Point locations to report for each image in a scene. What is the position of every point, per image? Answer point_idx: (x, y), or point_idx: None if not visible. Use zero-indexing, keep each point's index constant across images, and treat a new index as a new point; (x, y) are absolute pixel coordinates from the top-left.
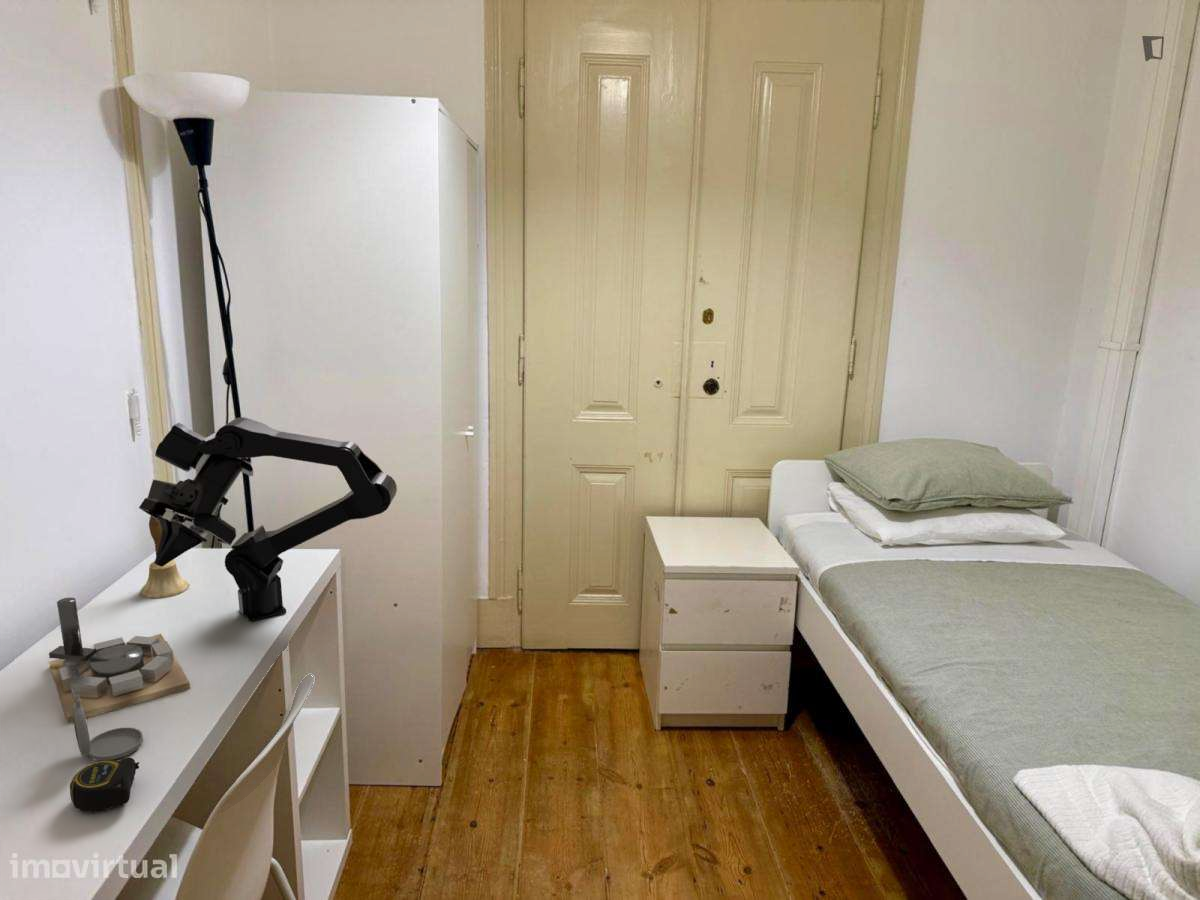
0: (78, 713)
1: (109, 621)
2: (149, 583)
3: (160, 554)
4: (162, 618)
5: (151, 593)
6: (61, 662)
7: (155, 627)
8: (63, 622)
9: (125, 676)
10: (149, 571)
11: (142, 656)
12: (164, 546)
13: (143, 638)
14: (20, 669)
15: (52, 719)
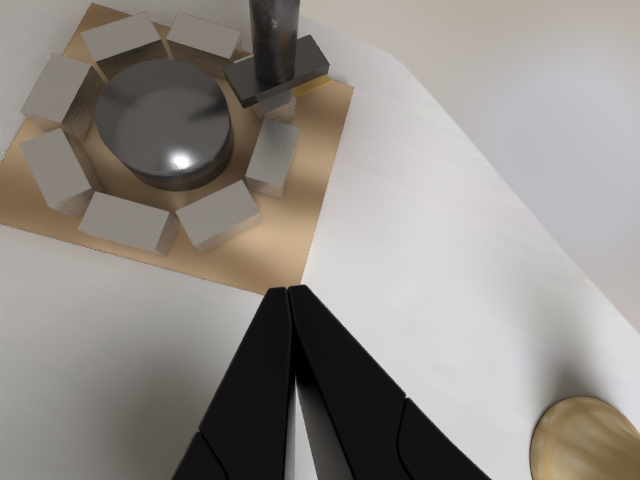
0: None
1: (481, 267)
2: (611, 428)
3: (286, 329)
4: (410, 365)
5: (566, 413)
6: (329, 97)
7: (371, 326)
8: None
9: (59, 88)
10: None
11: (125, 164)
12: (322, 407)
13: (225, 217)
14: (384, 64)
15: (141, 10)
